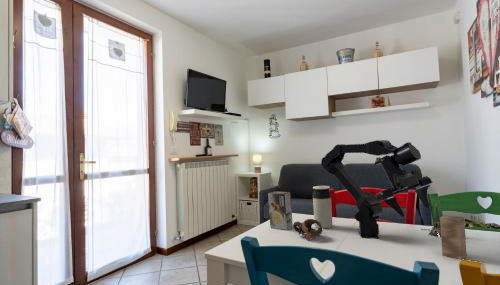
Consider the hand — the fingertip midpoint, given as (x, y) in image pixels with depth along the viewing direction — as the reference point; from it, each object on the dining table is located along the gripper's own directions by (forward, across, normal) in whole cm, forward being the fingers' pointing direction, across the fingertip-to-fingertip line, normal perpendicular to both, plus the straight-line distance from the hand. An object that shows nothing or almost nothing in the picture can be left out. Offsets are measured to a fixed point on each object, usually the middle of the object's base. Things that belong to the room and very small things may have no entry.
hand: (415, 212), depth 96 cm
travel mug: (-6, -25, +32) cm, 41 cm away
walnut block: (+15, +3, -4) cm, 16 cm away
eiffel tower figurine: (+12, +12, +16) cm, 23 cm away
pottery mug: (-4, -36, +19) cm, 40 cm away
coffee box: (-11, -44, +33) cm, 56 cm away
